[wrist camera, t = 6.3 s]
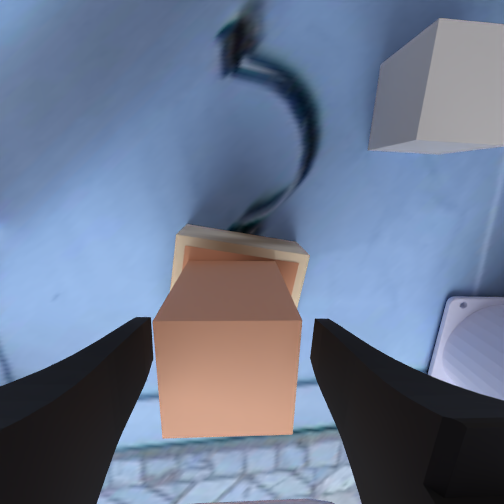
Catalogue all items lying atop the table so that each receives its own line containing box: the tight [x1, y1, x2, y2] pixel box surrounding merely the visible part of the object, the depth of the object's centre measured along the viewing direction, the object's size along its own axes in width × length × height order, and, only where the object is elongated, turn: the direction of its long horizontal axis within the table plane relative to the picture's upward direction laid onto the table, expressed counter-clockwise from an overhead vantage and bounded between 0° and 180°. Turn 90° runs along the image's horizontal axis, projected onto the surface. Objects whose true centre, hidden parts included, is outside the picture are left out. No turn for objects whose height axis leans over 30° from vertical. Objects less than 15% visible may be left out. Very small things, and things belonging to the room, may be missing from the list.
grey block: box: [368, 18, 504, 155], centre depth 13 cm, size 4×4×4 cm
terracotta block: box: [153, 260, 302, 438], centre depth 12 cm, size 4×4×6 cm
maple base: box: [170, 224, 310, 308], centre depth 16 cm, size 7×7×4 cm
